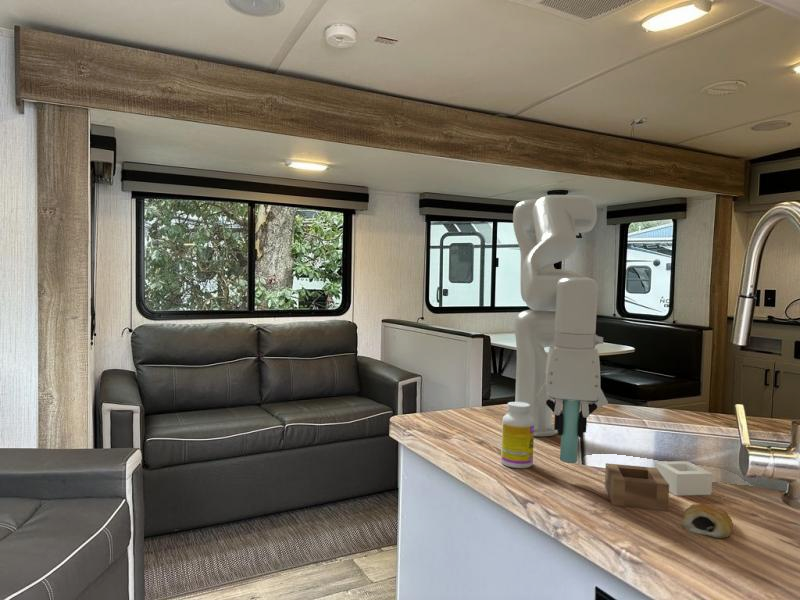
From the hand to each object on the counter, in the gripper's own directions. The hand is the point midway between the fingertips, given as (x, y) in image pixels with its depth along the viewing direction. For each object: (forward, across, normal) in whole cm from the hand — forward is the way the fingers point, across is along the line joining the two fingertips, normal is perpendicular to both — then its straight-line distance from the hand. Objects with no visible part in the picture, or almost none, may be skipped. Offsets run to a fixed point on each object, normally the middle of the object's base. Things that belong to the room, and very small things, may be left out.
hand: (569, 433), depth 108 cm
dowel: (+5, 0, 0) cm, 5 cm away
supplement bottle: (+10, +10, -7) cm, 15 cm away
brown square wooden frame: (+9, -11, +6) cm, 16 cm away
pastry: (+9, -20, +16) cm, 27 cm away
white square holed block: (+9, -21, -2) cm, 23 cm away
